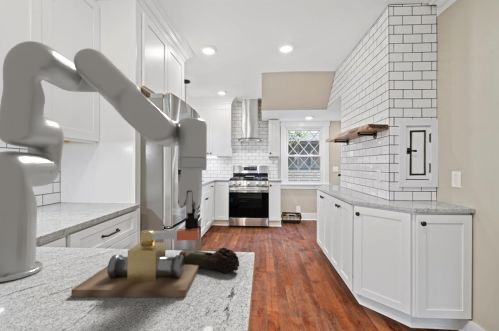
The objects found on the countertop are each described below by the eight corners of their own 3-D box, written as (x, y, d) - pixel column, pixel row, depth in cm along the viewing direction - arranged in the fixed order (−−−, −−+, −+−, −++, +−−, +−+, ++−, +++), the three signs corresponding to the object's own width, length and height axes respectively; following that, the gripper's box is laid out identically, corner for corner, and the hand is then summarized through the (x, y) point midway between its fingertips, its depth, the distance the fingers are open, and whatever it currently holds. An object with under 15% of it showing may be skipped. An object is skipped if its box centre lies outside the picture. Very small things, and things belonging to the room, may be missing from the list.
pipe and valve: (105, 283, 58) (105, 250, 58) (120, 271, 65) (120, 242, 65) (177, 283, 58) (177, 250, 59) (184, 271, 65) (185, 242, 65)
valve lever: (138, 246, 60) (139, 232, 60) (142, 243, 63) (142, 229, 63) (197, 244, 62) (198, 231, 62) (198, 241, 65) (198, 228, 65)
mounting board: (71, 297, 54) (71, 289, 54) (109, 270, 69) (109, 264, 69) (185, 297, 54) (185, 289, 54) (198, 270, 69) (199, 264, 69)
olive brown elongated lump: (177, 267, 72) (177, 247, 72) (191, 260, 78) (191, 241, 78) (233, 277, 65) (233, 255, 65) (244, 268, 71) (244, 248, 71)
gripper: (182, 165, 76) (182, 227, 76) (172, 163, 61) (171, 241, 61) (208, 165, 77) (207, 227, 76) (204, 163, 62) (203, 240, 62)
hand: (191, 233), depth 69 cm, fingers closed
